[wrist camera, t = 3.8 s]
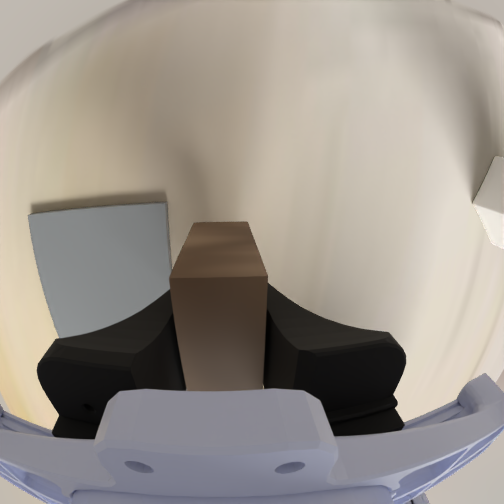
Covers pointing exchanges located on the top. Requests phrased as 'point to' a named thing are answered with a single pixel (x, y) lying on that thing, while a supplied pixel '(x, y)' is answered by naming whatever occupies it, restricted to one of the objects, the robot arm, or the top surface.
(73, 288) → the mat
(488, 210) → the milk
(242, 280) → the tall brown wooden block
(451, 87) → the top surface
